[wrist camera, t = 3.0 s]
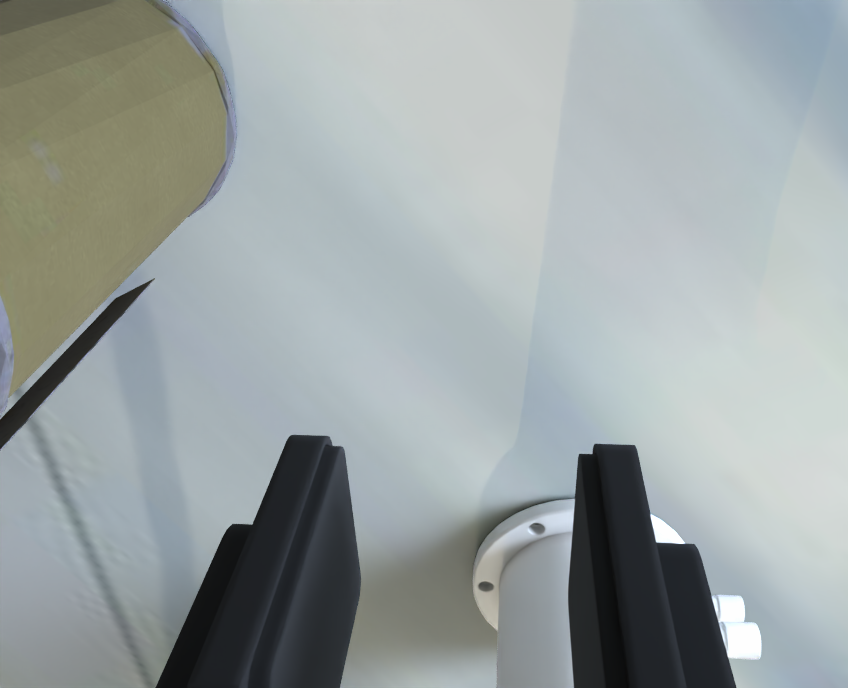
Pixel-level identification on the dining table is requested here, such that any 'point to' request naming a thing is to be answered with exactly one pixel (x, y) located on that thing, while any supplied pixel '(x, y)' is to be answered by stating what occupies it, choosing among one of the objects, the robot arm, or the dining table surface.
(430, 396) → the dining table surface
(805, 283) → the dining table surface
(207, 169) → the canister
